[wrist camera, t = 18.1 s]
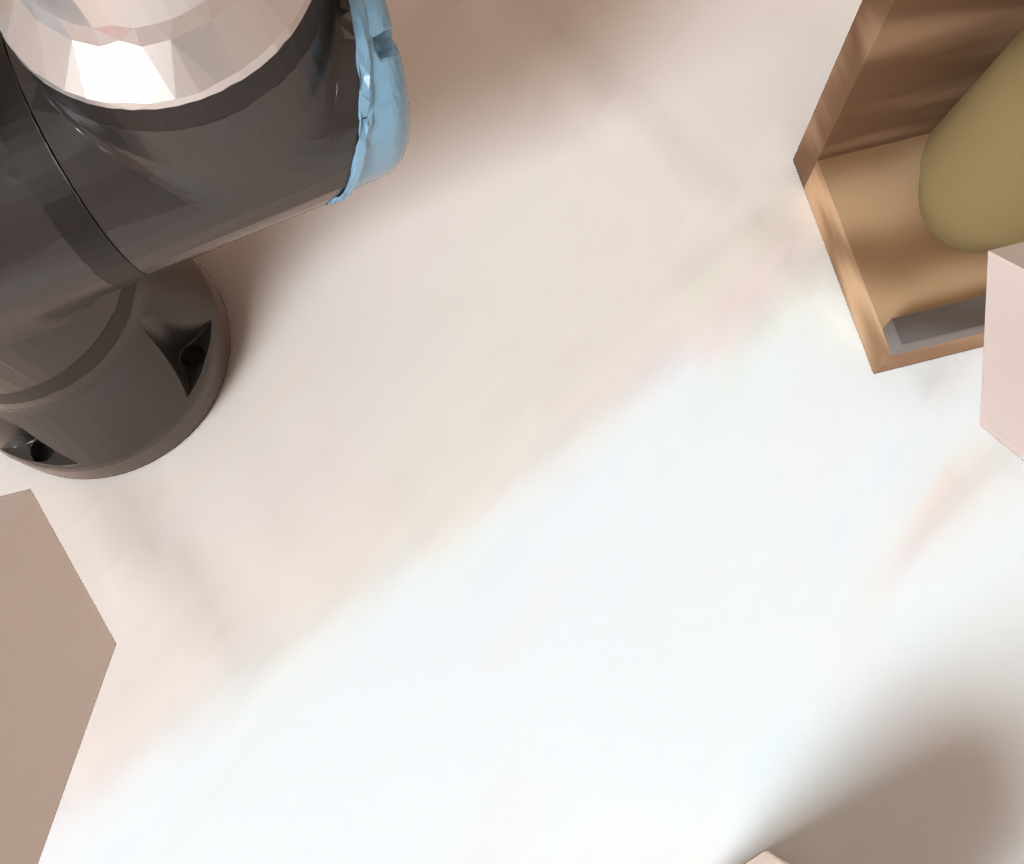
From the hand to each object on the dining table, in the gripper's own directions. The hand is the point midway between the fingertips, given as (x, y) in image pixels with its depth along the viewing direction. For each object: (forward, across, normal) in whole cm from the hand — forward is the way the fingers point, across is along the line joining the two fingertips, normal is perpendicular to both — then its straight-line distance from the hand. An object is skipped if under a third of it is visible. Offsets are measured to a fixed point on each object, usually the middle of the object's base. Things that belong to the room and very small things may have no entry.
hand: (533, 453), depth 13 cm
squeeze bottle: (+36, +28, -13) cm, 48 cm away
